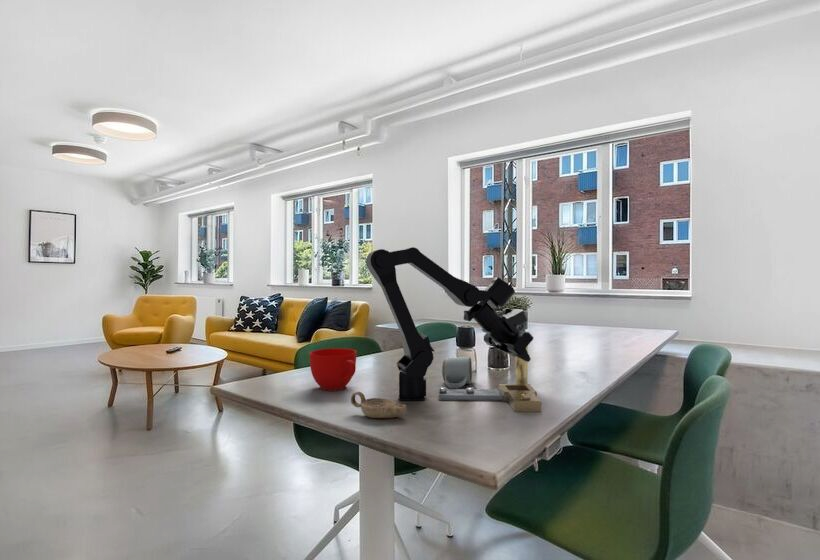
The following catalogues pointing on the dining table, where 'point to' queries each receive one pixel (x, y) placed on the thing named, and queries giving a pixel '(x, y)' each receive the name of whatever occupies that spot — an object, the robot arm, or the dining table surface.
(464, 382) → the ceramic mug
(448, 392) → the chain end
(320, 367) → the ceramic cup
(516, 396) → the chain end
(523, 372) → the pin
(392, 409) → the oil lamp
